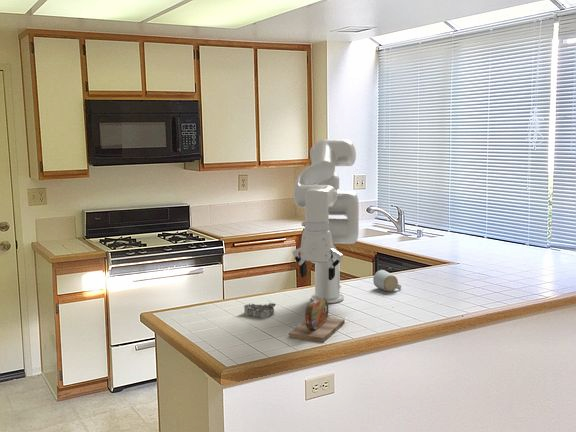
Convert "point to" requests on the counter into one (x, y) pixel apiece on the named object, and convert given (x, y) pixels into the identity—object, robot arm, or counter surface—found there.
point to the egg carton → (259, 310)
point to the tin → (316, 313)
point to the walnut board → (320, 333)
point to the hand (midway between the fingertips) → (317, 277)
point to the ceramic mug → (385, 281)
